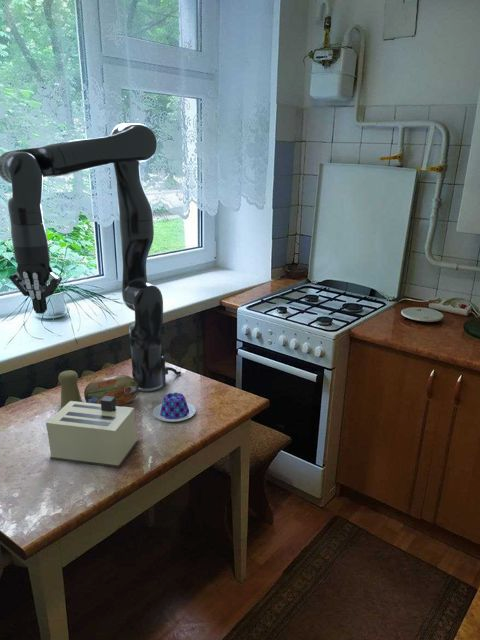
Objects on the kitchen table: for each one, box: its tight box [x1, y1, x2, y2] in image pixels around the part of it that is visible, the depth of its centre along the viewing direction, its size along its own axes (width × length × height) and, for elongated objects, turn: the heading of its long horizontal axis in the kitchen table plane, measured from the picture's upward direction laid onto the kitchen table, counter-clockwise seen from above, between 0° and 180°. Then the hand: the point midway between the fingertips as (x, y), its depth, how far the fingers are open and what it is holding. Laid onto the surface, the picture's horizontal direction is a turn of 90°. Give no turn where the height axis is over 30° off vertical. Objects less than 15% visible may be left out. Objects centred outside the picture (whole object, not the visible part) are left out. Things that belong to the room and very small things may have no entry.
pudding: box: [152, 392, 197, 422], centre depth 140 cm, size 12×12×5 cm
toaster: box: [45, 401, 139, 469], centre depth 121 cm, size 13×17×10 cm
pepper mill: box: [58, 369, 83, 410], centre depth 140 cm, size 6×6×11 cm
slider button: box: [101, 396, 116, 412], centre depth 121 cm, size 2×3×3 cm
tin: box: [83, 374, 139, 406], centre depth 143 cm, size 15×3×8 cm, turn 117°
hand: (40, 312), depth 123 cm, fingers closed
